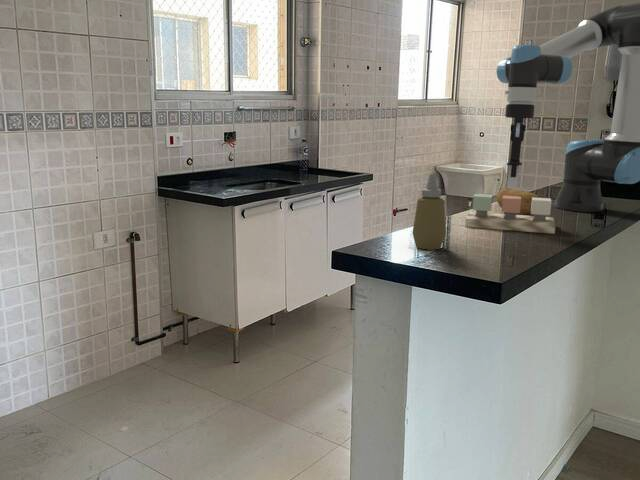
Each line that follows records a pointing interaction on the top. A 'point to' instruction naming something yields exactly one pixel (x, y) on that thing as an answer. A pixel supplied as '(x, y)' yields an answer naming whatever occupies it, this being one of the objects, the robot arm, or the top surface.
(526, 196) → the potato
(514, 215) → the block terracotta
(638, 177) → the robot arm
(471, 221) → the board
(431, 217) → the squeeze bottle
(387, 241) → the top surface
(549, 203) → the block cream
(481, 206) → the block sage
